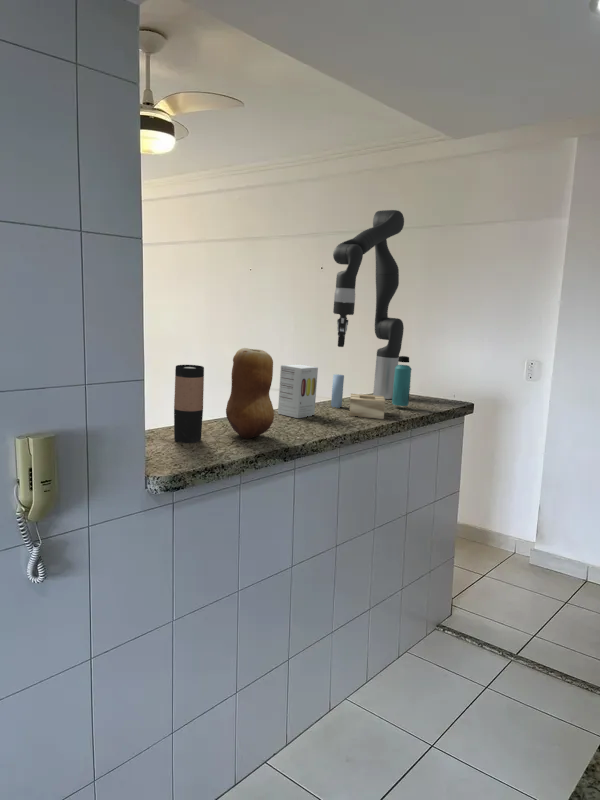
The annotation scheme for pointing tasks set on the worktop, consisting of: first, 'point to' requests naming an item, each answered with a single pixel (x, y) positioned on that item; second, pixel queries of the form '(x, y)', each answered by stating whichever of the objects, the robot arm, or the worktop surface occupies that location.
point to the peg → (337, 390)
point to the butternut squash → (251, 393)
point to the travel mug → (188, 403)
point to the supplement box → (297, 390)
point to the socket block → (367, 406)
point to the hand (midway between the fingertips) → (341, 345)
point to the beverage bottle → (401, 383)
